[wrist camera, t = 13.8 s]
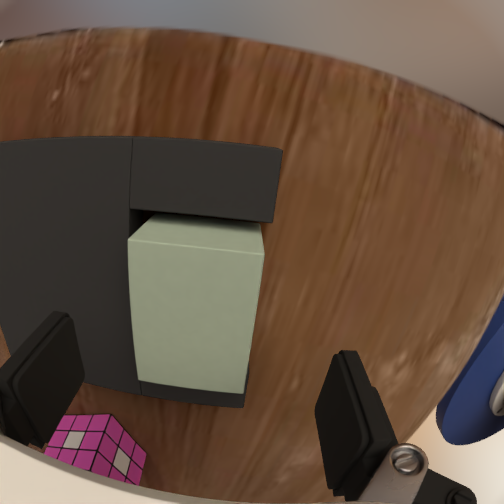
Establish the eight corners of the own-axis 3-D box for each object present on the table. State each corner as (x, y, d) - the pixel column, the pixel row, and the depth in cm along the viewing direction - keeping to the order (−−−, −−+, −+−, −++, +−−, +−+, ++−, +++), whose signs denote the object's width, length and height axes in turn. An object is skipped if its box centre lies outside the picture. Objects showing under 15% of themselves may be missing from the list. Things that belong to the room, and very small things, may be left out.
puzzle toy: (111, 413, 20) (89, 471, 14) (147, 453, 22) (135, 506, 16) (62, 414, 20) (38, 463, 15) (98, 452, 22) (82, 499, 17)
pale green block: (260, 223, 15) (264, 254, 11) (243, 343, 17) (243, 394, 14) (155, 212, 14) (126, 239, 11) (156, 332, 17) (138, 380, 13)
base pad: (278, 147, 14) (283, 149, 12) (243, 385, 18) (243, 408, 17) (-3, 142, 13) (-25, 145, 11) (25, 343, 18) (12, 359, 16)
